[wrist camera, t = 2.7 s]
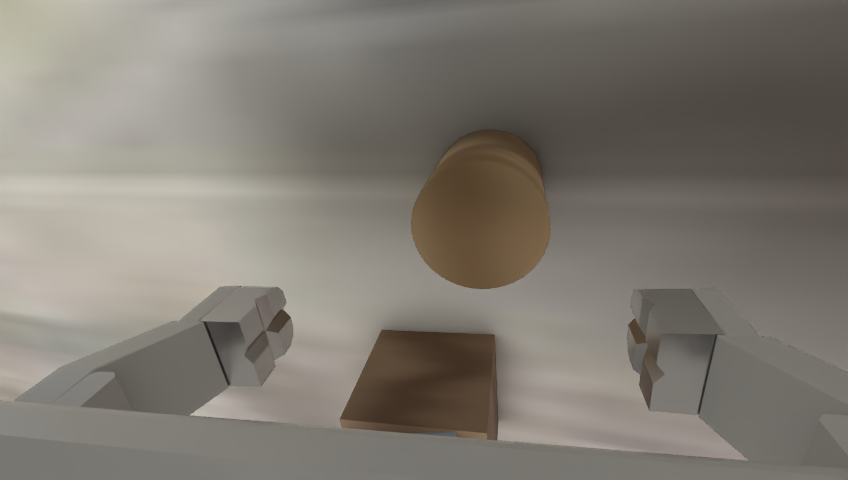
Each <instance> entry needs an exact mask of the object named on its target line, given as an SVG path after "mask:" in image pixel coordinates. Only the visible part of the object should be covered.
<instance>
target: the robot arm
mask: <svg viewBox="0 0 848 480" xmlns="http://www.w3.org/2000/svg"><path fill="white" fill-rule="evenodd" d="M285 305H286V299H285V296H284V293H283V291H282V290H281V289H280V288H278V287H258V286H223V287H219V288H218V289H217V290H216V291H214V292H213V293H212V294H211V295H210V296H208V297H207V298H206V299H205V300H204V301H202V302H201V303H200V304H199V305H198V306H196V307H195V308H194V309H193V310H191V311H190V312H189V313H188V314H187V315H185V316H184V317H183V318H182V319H181V320H179V321H172V322H170V323H167V324H165V325H162V326H160V327H157V328H155V329H152V330H150V331H148V332H145V333H143V334H140V335H138V336H135V337H133V338H131V339H128V340H126V341H123V342H121V343H118V344H116V345H113V346H111V347H109V348H106V349H104V350H101V351H99V352H96V353H94V354H92V355H89V356H87V357H84V358H82V359H79V360H77V361H74V362H72V363H70V364H67V365H65V366H62V367H60V368H58V369H57V370H56V371H54V372H53V373H51V374H50V375H49V376H47V377H46V378H45V379H43V380H42V381H40V382H39V383H38V384H36V385H35V386H33V387H32V388H31V389H29V390H28V391H26V392H25V393H24V394H22V395H21V396H19V397H18V398H17V399H15V400H14V401H4V400H0V480H848V372H846V371H843V370H841V369H839V368H837V367H835V366H833V365H830V364H828V363H826V362H824V361H822V360H820V359H817V358H815V357H813V356H811V355H809V354H807V353H804V352H802V351H800V350H798V349H796V348H794V347H791V346H789V345H787V344H785V343H783V342H780V341H778V340H776V339H774V338H772V337H766V336H760V335H759V334H758V333H757V332H756V331H755V330H754V328H753V327H752V326H751V325H750V324H749V323H748V322H747V320H746V319H745V318H744V317H743V316H742V315H741V314H740V312H739V311H738V310H737V309H736V308H735V307H734V306H733V304H732V303H731V302H730V301H729V300H728V299H727V298H726V296H725V295H724V294H723V293H722V292H721V291H720V290H718V289H716V288H699V289H644V290H634V291H633V294H632V298H631V305H630V308H631V310H632V312H633V314H634V317H635V319H634V320H633V321H632V322H631V323H630V324H629V325H628V333H627V344H628V354H629V358H630V362H631V364H632V367H633V369H634V370H635V371H636V372H638V373H639V374H641V376H640V383H639V386H640V388H641V391H642V393H643V396H644V398H645V401H646V403H647V406H648V408H649V411H659V412H670V413H682V414H693V415H699V418H700V419H702V420H703V421H704V422H705V423H706V424H707V425H709V426H710V427H711V428H712V429H713V430H714V431H715V432H717V433H718V434H719V435H720V436H721V437H722V438H724V439H725V440H726V441H727V442H728V443H729V444H730V445H732V446H733V447H734V448H735V449H736V450H737V451H739V452H740V453H741V454H742V455H743V456H744V457H745V458H747V459H748V460H749V461H746V460H734V459H721V458H709V457H696V456H683V455H671V454H659V453H646V452H634V451H622V450H609V449H597V448H585V447H572V446H560V445H547V444H535V443H523V442H510V441H498V440H486V439H473V438H461V437H449V436H436V435H424V434H411V433H398V432H386V431H374V430H361V429H349V428H337V427H324V426H312V425H300V424H288V423H275V422H263V421H251V420H238V419H226V418H214V417H201V416H189V415H190V414H192V413H193V412H194V411H196V410H197V409H199V408H200V407H202V406H203V405H204V404H206V403H207V402H209V401H210V400H211V399H213V398H214V397H216V396H217V395H219V394H220V393H221V392H223V391H224V390H226V389H227V388H228V386H253V387H261V386H262V385H263V383H264V382H265V381H266V379H267V378H268V377H269V375H270V374H271V373H272V371H273V370H274V368H275V367H276V366H275V361H274V360H276V359H278V358H279V357H281V356H283V355H284V354H285V353H286V352H287V350H288V349H289V347H290V345H291V342H292V338H293V324H292V320H291V317H290V316H289V315H288V314H287V313H286V312H285V311H284V310H283V309H284V307H285Z"/></svg>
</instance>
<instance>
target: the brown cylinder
mask: <svg viewBox="0 0 848 480" xmlns="http://www.w3.org/2000/svg"><path fill="white" fill-rule="evenodd" d="M411 226H412V235H413V239H414V242H415V245H416V248H417V250H418V252H419V254H420V255H421V257H422V258H423V260H424V261H425V262H426V263H427V264H428V266H429V267H430V268H431V269H432V270H434V271H435V272H436V273H437V274H439V275H440V276H441V277H443V278H445V279H446V280H448V281H450V282H453V283H455V284H458V285H461V286H464V287H469V288H477V289H490V288H497V287H501V286H505V285H508V284H510V283H513V282H515V281H517V280H519V279H521V278H522V277H524V276H525V275H526V274H528V273H529V272H530V271H531V270H532V269H533V268H534V267H535V266H536V265H537V263H538V262H539V261H540V259H541V258H542V256H543V254H544V252H545V250H546V248H547V245H548V241H549V236H550V219H549V213H548V207H547V202H546V196H545V190H544V184H543V179H542V173H541V168H540V165H539V162H538V160H537V158H536V156H535V154H534V153H533V151H532V150H531V148H530V147H529V146H528V145H527V144H526V143H525V142H523V141H522V140H521V139H519V138H517V137H516V136H514V135H512V134H509V133H507V132H503V131H498V130H482V131H477V132H473V133H470V134H468V135H466V136H464V137H462V138H460V139H459V140H458V141H456V142H455V143H454V144H453V145H452V146H451V147H450V148H449V149H448V150H447V152H446V153H445V155H444V156H443V158H442V159H441V161H440V163H439V164H438V166H437V167H436V169H435V170H434V172H433V174H432V175H431V177H430V178H429V180H428V181H427V183H426V185H425V186H424V188H423V189H422V191H421V192H420V194H419V196H418V198H417V200H416V202H415V205H414V208H413V213H412V221H411Z"/></svg>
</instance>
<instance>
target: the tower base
mask: <svg viewBox="0 0 848 480" xmlns="http://www.w3.org/2000/svg"><path fill="white" fill-rule="evenodd" d="M340 422H341V426H342V428H349V429H361V430H374V431H386V432H398V433H436V432H457V435H458V437H461V438H473V439H486V440H497V434H498V404H497V379H496V354H495V335H486V334H463V333H439V332H415V331H392V330H381V333H380V335H379V337H378V339H377V341H376V343H375V345H374V347H373V350H372V352H371V354H370V356H369V358H368V360H367V362H366V364H365V367H364V369H363V371H362V373H361V375H360V377H359V379H358V382H357V384H356V386H355V388H354V390H353V392H352V394H351V396H350V399H349V401H348V403H347V405H346V407H345V409H344V411H343V414H342V416H341V418H340Z"/></svg>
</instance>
